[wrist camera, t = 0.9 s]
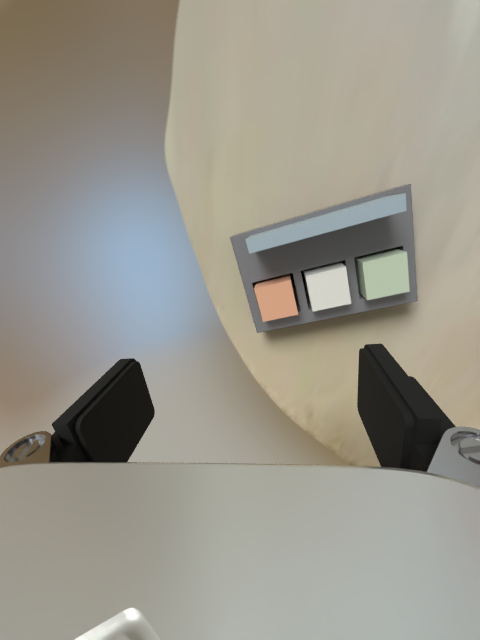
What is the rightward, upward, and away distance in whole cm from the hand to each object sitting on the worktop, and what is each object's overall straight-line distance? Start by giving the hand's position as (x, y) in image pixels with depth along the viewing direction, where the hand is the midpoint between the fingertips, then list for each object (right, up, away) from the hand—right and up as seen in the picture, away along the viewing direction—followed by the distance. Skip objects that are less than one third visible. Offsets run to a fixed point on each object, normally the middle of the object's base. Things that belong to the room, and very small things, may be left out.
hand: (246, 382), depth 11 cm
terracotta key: (+4, +6, +17) cm, 19 cm away
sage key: (+13, +8, +15) cm, 22 cm away
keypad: (+8, +9, +17) cm, 21 cm away
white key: (+8, +7, +16) cm, 20 cm away
